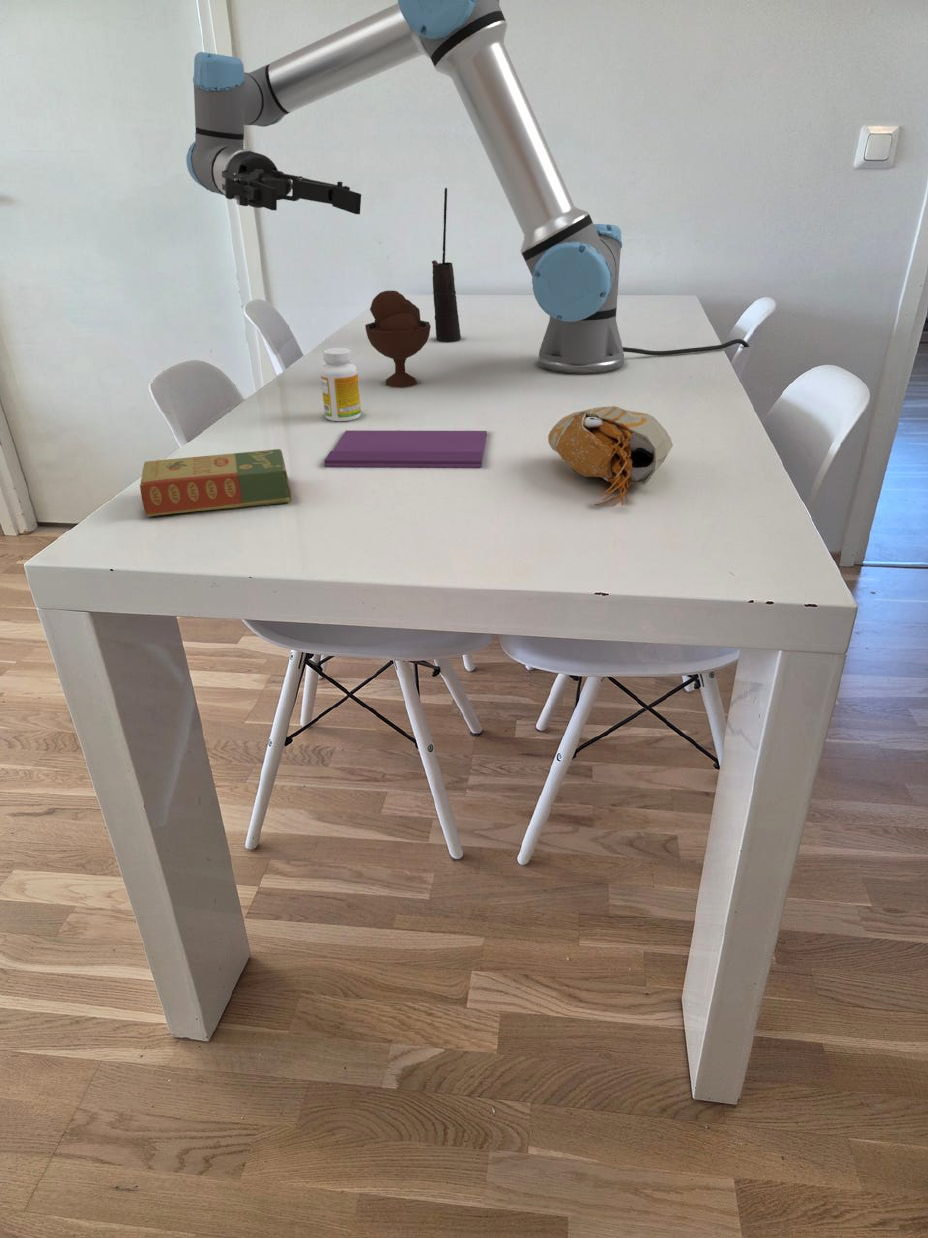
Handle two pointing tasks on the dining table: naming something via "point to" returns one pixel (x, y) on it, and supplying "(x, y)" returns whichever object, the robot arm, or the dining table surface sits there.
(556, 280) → the robot arm
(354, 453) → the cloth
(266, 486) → the carton
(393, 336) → the ice cream bowl
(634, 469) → the nautilus
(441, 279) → the butter churn
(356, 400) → the supplement bottle
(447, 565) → the dining table surface
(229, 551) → the dining table surface
